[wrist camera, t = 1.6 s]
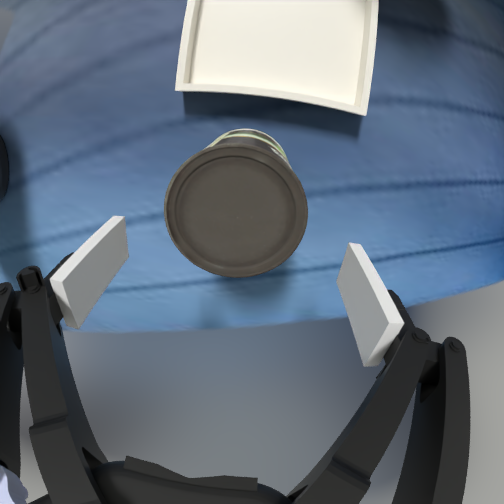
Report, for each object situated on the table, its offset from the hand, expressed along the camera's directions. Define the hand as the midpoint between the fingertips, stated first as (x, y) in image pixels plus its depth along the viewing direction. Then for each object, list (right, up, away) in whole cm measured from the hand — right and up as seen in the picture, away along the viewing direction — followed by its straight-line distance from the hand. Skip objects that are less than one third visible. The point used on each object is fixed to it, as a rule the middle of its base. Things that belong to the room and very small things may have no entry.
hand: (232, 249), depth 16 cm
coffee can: (0, +9, +16) cm, 19 cm away
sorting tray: (+4, +25, +6) cm, 26 cm away
